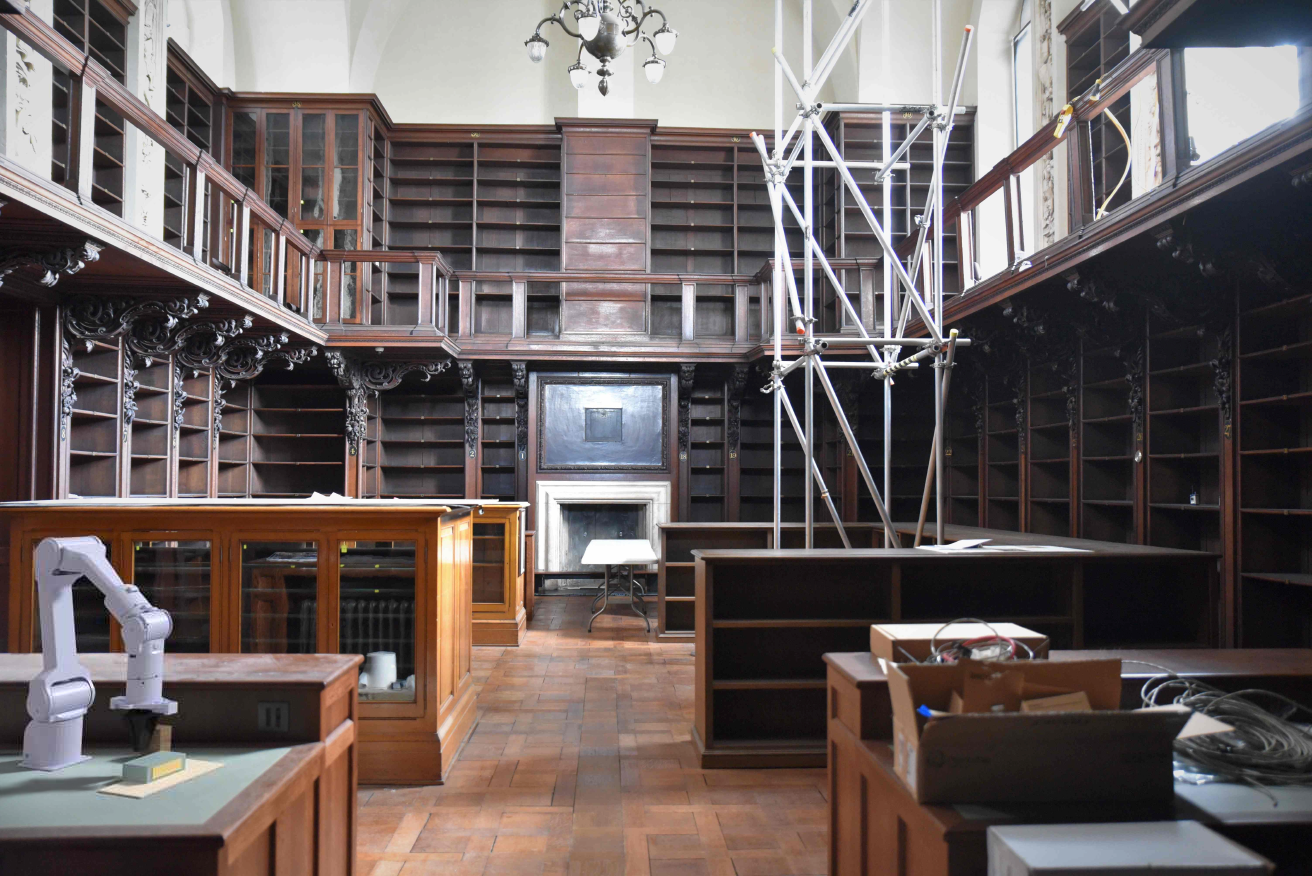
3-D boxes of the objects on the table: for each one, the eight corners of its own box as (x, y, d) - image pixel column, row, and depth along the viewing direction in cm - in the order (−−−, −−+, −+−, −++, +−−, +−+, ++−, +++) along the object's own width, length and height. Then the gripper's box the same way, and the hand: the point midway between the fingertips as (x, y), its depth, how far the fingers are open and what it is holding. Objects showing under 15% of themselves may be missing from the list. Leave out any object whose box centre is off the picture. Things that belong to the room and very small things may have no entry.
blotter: (98, 791, 142) (98, 790, 142) (186, 760, 159) (186, 758, 159) (140, 798, 139) (141, 796, 139) (226, 765, 156) (226, 764, 156)
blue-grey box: (122, 763, 147) (148, 766, 145) (161, 750, 154) (186, 753, 153) (121, 780, 147) (147, 784, 145) (161, 766, 154) (185, 769, 152)
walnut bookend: (140, 757, 160) (141, 727, 161) (151, 754, 162) (152, 723, 163) (159, 760, 159) (160, 729, 159) (170, 756, 161) (171, 726, 161)
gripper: (96, 678, 150) (92, 752, 149) (154, 683, 146) (151, 760, 145) (131, 670, 157) (127, 741, 156) (188, 675, 153) (185, 749, 152)
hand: (141, 750), depth 151 cm, fingers closed
